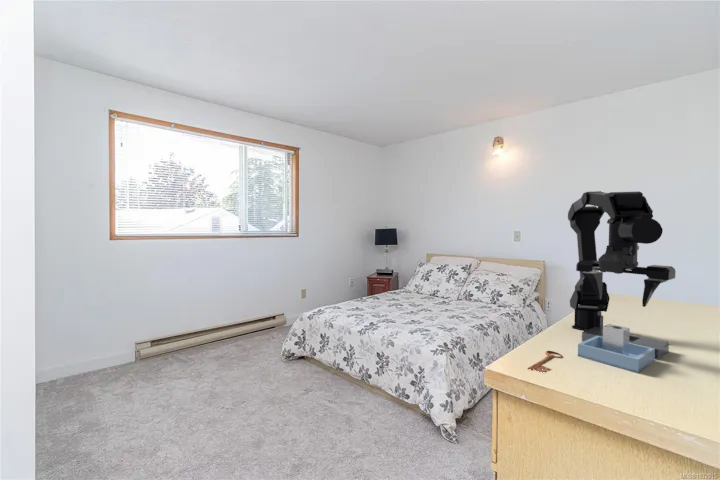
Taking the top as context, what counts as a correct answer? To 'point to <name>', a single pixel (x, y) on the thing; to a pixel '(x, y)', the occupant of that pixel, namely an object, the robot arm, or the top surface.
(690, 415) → the top surface
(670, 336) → the top surface
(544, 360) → the key
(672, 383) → the top surface
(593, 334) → the gray square hole plate
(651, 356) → the parts tray
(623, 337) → the small speaker box
